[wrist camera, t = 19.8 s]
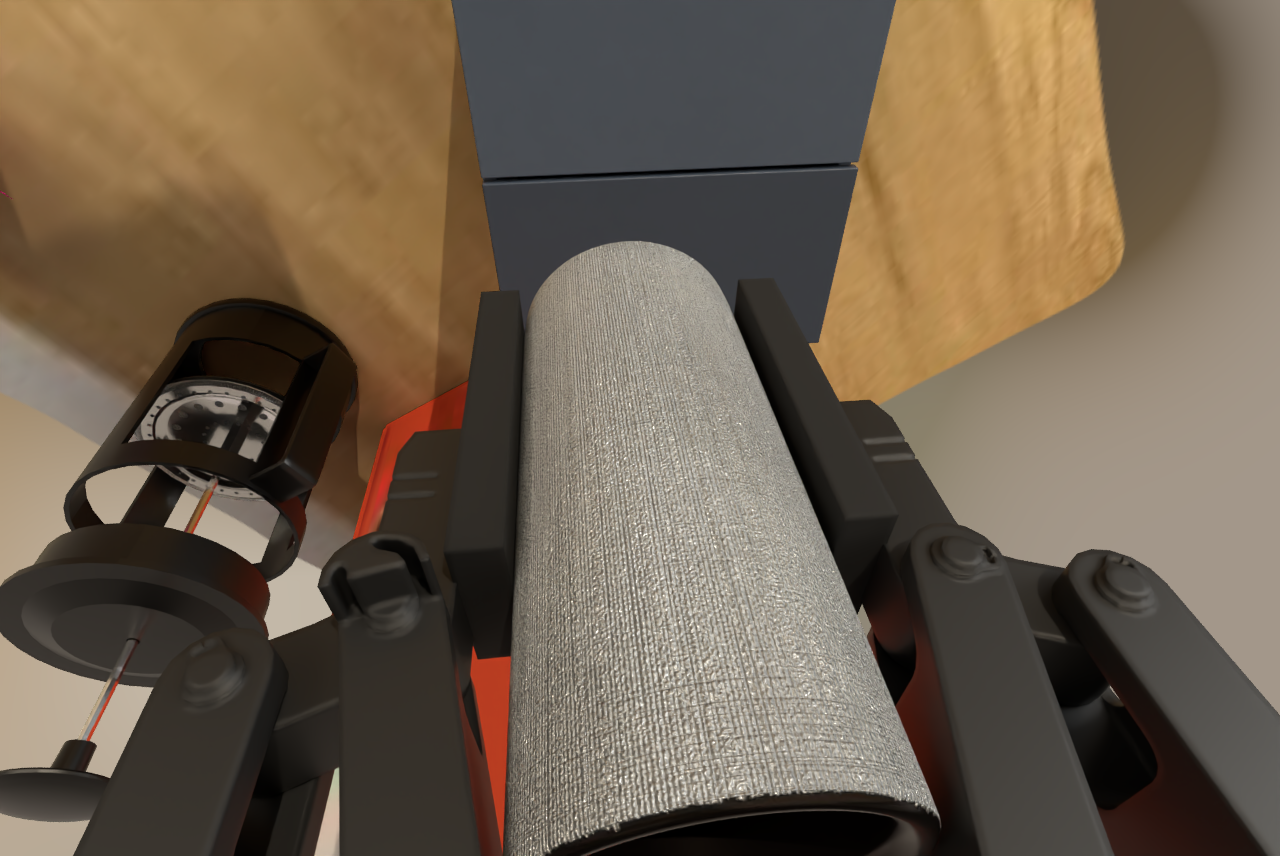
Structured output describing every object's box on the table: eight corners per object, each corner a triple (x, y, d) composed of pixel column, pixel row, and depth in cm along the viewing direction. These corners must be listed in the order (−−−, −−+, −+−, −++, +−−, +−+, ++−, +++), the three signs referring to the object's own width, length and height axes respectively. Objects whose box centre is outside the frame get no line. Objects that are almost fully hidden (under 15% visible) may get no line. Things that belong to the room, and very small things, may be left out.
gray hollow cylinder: (704, 206, 13) (957, 758, 5) (745, 379, 16) (942, 890, 8) (488, 279, 13) (409, 882, 5) (569, 433, 16) (592, 962, 8)
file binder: (537, 558, 52) (532, 1149, 29) (380, 428, 41) (165, 1213, 18) (623, 519, 50) (695, 1123, 27) (482, 372, 39) (392, 1177, 16)
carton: (465, -131, 24) (429, -115, 16) (808, -132, 25) (926, -119, 17) (517, 247, 34) (511, 364, 26) (759, 234, 35) (819, 344, 27)
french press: (266, 453, 41) (78, 876, 25) (127, 350, 35) (-249, 818, 18) (415, 378, 39) (318, 794, 22) (292, 253, 33) (29, 695, 16)
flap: (434, -112, 16) (432, -111, 16) (916, -115, 18) (922, -114, 17) (481, 174, 22) (481, 179, 21) (854, 158, 23) (858, 162, 22)
